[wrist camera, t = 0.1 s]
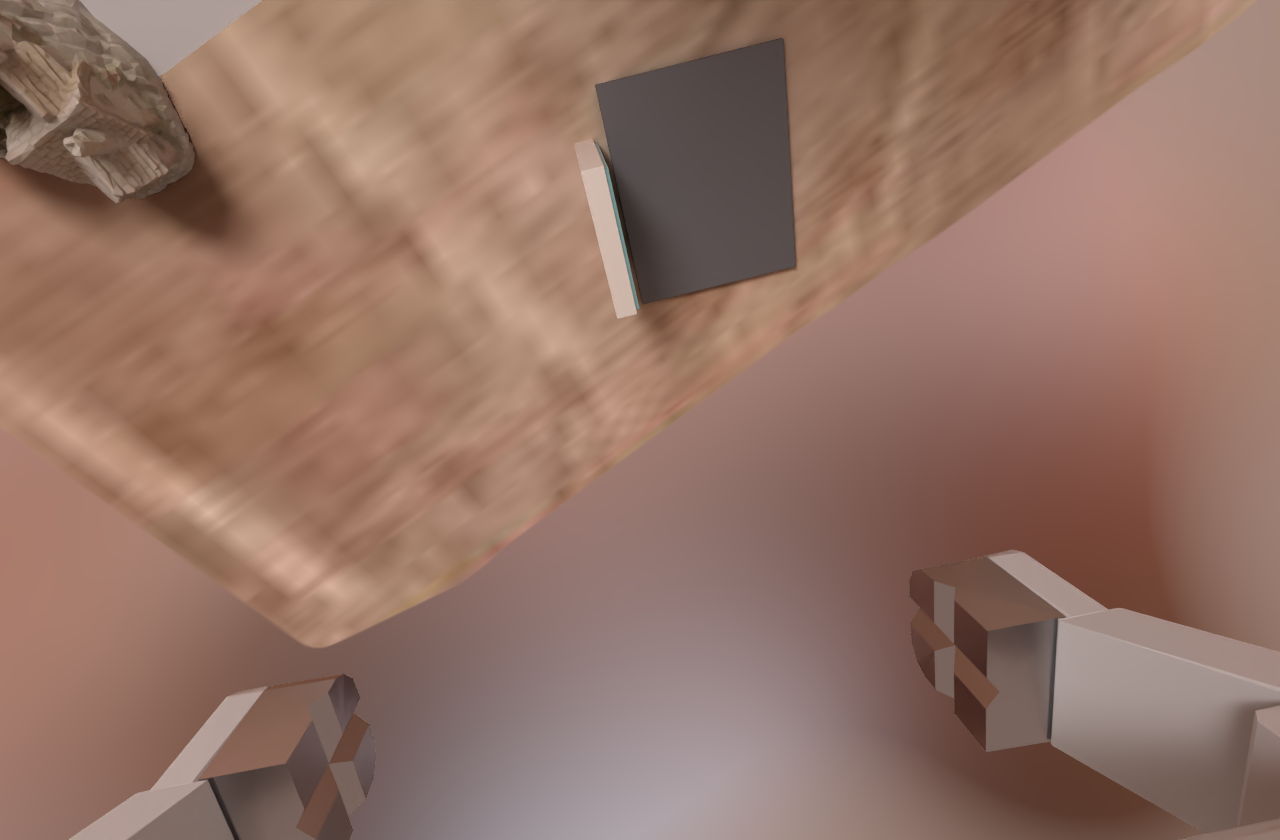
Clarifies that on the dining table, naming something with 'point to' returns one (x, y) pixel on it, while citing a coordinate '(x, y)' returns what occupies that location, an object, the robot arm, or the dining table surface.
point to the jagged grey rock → (85, 103)
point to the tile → (607, 227)
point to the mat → (703, 169)
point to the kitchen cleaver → (167, 25)
